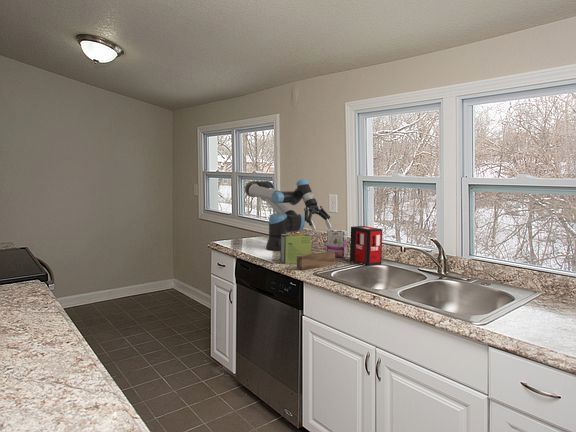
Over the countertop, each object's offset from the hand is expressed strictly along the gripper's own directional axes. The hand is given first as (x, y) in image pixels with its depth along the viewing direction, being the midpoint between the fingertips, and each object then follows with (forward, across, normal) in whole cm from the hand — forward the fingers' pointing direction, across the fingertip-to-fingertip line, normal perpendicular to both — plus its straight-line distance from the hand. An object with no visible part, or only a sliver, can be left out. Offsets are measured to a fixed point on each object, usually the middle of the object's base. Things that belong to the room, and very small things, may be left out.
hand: (322, 229), depth 271 cm
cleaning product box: (+33, +1, -19) cm, 38 cm away
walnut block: (+29, -30, -14) cm, 44 cm away
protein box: (+19, -30, +1) cm, 35 cm away
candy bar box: (+20, 0, -2) cm, 20 cm away
